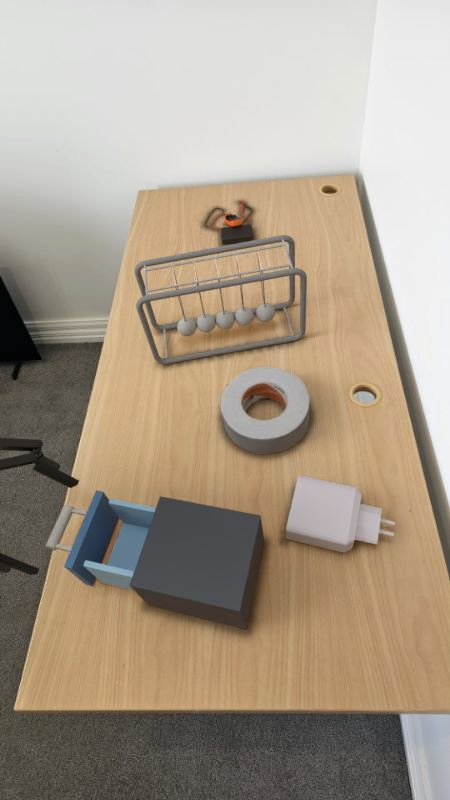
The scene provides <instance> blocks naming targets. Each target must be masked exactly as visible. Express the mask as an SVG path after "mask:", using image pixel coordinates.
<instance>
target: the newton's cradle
mask: <svg viewBox="0 0 450 800" xmlns="http://www.w3.org/2000/svg"><path fill="white" fill-rule="evenodd" d="M277 243H281V244H277ZM286 243H287V244H288V248H287V245H286ZM272 244H275V245H272ZM267 245H268V246H267ZM269 245H270V246H269ZM261 246H264V247H261ZM255 247H256V248H255ZM257 247H259V248H257ZM281 247H283V248H284V252H285V255H286V258H287V260H288V263H287V264H281V265H276V266H271V267H265V268H263V267H262V262H261V259H260V256H259V252H260V251H265V250H271V249H276V248H281ZM251 248H254V249H251ZM244 249H248V250H244ZM240 250H243V251H240ZM235 251H237V252H235ZM229 252H232V253H229ZM255 252H256V256H257V263H258V269H254V270H248V271H243V272H241V269H240V264H239V261H238V255H244V254H249V253H255ZM223 253H226V254H223ZM218 254H222V255H218ZM213 255H215V256H213ZM206 256H209V257H206ZM232 256H235V260H236V261H235V262H236V269H237V273H233V274H227V275H221V276H219V271H218V265H217V259H221V258H227V257H232ZM201 257H202V258H201ZM203 257H205V258H203ZM196 258H199V259H196ZM191 259H194V260H191ZM187 260H189V261H187ZM211 260H214V264H215V265H214V266H215V271H216V277H210V278H205V279H198V274H197V270H196V264H195V263H200V262H205V261H211ZM180 261H182V262H180ZM176 262H177V263H176ZM170 263H171V264H170ZM172 263H173V264H172ZM163 264H167V265H163ZM189 264H193V269H194V274H195V280H193V281H188V282H184V283H178V280H177V275H176V272H175V267H178V266H183V265H189ZM159 265H161V266H159ZM152 266H156V267H152ZM147 267H150V268H147ZM168 268H172V273H173V276H174V277H173V281H174V284H172V285H167V286H161V287H156V288H151V289H149V288H148V272H152V271H157V270H161V269H168ZM281 268H287V269H282V270H277V269H281ZM142 270H143V273H144V278H143V275H142V272H141V271H142ZM270 270H271V272H266V271H270ZM272 270H276V271H272ZM133 271H134V276H135V279H136V282H137V285H138V288H139V291H140V294H141V297H139V298H138V299H137V301H136V304H135V308H136V311H137V315H138V317H139V320H140V324H141V325H142V329H143V331H144V334H145V337H146V340H147V342H148V346H149V348H150V351H151V355H152V357H153V359H154V361H155V362H157V363H158V364H161V365H170V364H175V363H180V362H181V363H182V362H186V361H192V360H198V359H203V358H209V357H214V356H220V355H224V354H230V353H231V354H232V353H236V352H242V351H246V350H252V349H257V348H263V347H264V348H265V347H268V346H275V345H280V344H285V343H290V342H296V341H298V340H301V339H302V338H303V337H304V336H305V334H306V330H307V294H308V293H307V289H308V288H307V287H308V277H307V273H306V271H305V270H303V269H302V268H299V267H296V242H295V240H294V238H292V236H290V235H286V234H281V235H276V236H271V237H265V238H259V239H255V240H254V239H253V240H252V241H247V242H238V243H231V244H225V245H221V246H216V247H211V248H206V249H201V250H195V251H189V252H183V253H177V254H173V255H168V256H162V257H157V258H152V259H151V258H150V259H145V260H142V261H140V262H138V263H137V264H136V265H135V267H134V270H133ZM265 272H266V273H265ZM254 273H259V274H255V275H250V276H249V274H254ZM244 275H248V276H244ZM242 276H243V277H242ZM296 276H299V331H298V332H297V333H295V334H294V331H293V327H292V323H291V321H290V318H289V314H288V311H287V308H289V307H291V306H292V305H293V304H294V303H295V299H296ZM232 277H236V278H233V279H229V278H232ZM237 277H238V278H237ZM285 277H288V281H289V282H288V283H289V288H288V290H289V291H288V292H289V294H288V295H289V299H288V300H287V301H285V302H282V303H277V304H271V303H268V302H266V296H265V283H264V282H265V281H269V280H273V279H274V280H275V279H280V278H285ZM222 279H227V280H222ZM220 280H221V281H220ZM211 281H216V282H211ZM207 282H210V283H207ZM259 282H260V286H261V293H262V301H263V303H260V304H259V305H257V307H254V308H250V307H248V306H245V305H244V294H243V285H247V284H252V283H259ZM201 283H205V284H201ZM195 284H196V285H195ZM190 285H195V286H190ZM184 286H188V287H184ZM236 286H239V291H240V298H241V305H242V306H241V307H238V309H237V310H236V311H233V312H231V311H229V310H226V309H225V307H224V302H223V301H224V300H223V295H222V289H225V288H230V287H236ZM179 287H183V288H179ZM173 288H174V289H173ZM168 289H173V290H168ZM162 290H168V291H162ZM214 290H219V295H220V299H221V300H220V301H221V305H222V306H221V307H222V310H221V311H219V312H218V313H217V314H216V315H211V314H209V313H205V309H204V304H203V299H202V294H201V293H204V292H209V291H214ZM157 291H161V292H157ZM151 292H157V293H151ZM149 293H151V294H149ZM192 294H198V295H199V300H200V304H201V308H202V314H201V315H199V316H198V317H197V318H194V319H193V318H191V317H186V315H185V311H184V306H183V302H182V298H181V297H183V296H187V295H192ZM176 297H177V299H178V302H179V306H180V309H181V313H182V316H183V317H182V318H181V319H180V320H179V321H178V322H177V321H176V322H172V323H168V324H160V323H158V321H157V319H156V316H155V313H154V309H153V307H152V303H151V302H154V301H159V300H166V299H171V298H176ZM144 307H145V309H146V312H145V310H144ZM278 310H283V311H284V314H285V317H286V321H287V324H288V328H289V330H290V334H291V335H287V336H281V337H277V338H270V339H266V340H261V341H260V340H259V341H255V342H249V343H244V344H238V345H233V346H227V347H222V348H216V349H210V350H205V351H200V352H199V351H198V352H194V353H188V354H183V355H178V356H172V357H169V353H168V341H167V331H168V330H174V329H177V331H178V333H179V334H180V335H181V336H182V337H192V336H193V335H194V334H195V333H196V331H197V329H198V331H199V332H201V333H203V334H210V333H211V332H213V330H214V329H215V328H216V326H217V327H218V328H219V329H221V330H224V331H226V330H230V329H231V328H232V327H233V326H234V324H235V322H236V323H237V324H238V325H239V326H242V327H247V326H249V325H251V324H252V322H253V321H254V317H255V316H256V318H257V319H258V320H259V321H260V322H262V323H268V322H271V321H272V320H273V319H274V317H275V316H276V311H278ZM146 313H147V315H148V318H149V321H150V324H151V326H152V327H153V328H154V329H155V330H157V331H162V332H163V336H164V337H163V338H164V350H165V358H163V357H161V356H160V354H159V351H158V348H157V344H156V342H155V339H154V337H153V336H154V335H153V333H152V331H151V327H150V325H149V322H148V318H147V315H146Z"/></svg>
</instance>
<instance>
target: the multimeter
mask: <svg viewBox="0 0 450 800" xmlns="http://www.w3.org/2000/svg"><path fill="white" fill-rule="evenodd" d="M237 201H238V202H239V203H241V212H243V211H244V207H246V208H247V209H248V210H250V213H249V215H251V214H252V213H253V212H252V209H251V207H250V206H248V205H246V204H245V203H244V198H243V197H242V198H241V201H240V200H239V199H238V200H237ZM217 209H219V210H221V211H222V213H220V214H219V215H217V216H216V217H215V218H214V220H213V221H212V223H211V224H210V225H209V226H208V225H207V221H208V220H209V218H210V216H211V215H212V214H213V212H214V211H215V210H217ZM221 215H222V216H224V223H225V224H226V225H228V226H223V227H220V228H217V227H215V226H212V225H214V222H216V220H217V218H218V217H219V216H221ZM242 216H243V217H245V219H244V220H243V218H241V217H239V216H238V215H236V214H234V213H233V214H232V213H231V212H230V211H227V212H224V209H223V208H220V207H216V208H214V209H213V210H212V211H211V212H210V214H209V215H208V217H207V218H206V221H205V223H204V224H205V225H204V226H205V227H207V228H213V229H216V230H218V231H220V235H221V243H222V245H231V244H237V243H243V242H248V241H253V240H254V234H253V233H254V232H253V226H252V224H251V223H250V222H251V219H250V218H249V216H246V215H244V214H242ZM246 220H249V222H248V223H247V224H243V223H244V222H246Z"/></svg>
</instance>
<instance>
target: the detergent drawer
mask: <svg viewBox="0 0 450 800" xmlns="http://www.w3.org/2000/svg"><path fill="white" fill-rule="evenodd" d="M155 509H156V506H152V505H147V504H141V503H136V502H132V501H131V502H130V501H128V500H127V501H126V500H121V499H118V498H117V499H116V498H112V497H111V498H109V496H107V495H106V493H105V492H104V491H102V490H98V489H97V490H95V492H94V494H93V497H92V499H91V502H90V503H89V506H88V509H87V510H84V509H79V508H75V507H74V506H72V505H71V504H68V503H67V504H66V503H65V504H63V507H62V509H61V511H60V513H59V515H58V518H57V520H56V522H55V523H54V524H55V525H54V526H53V528H52V531H51V533H50V535H49V537H48V540H47V542H46V544H45V548H47V549H49V550H50V551H57V550H61V551H65V552H69V554H68V556H67V558H66V561H65V563H64V565H63V567H64V568H65V569H66V570H67V571H69V572H70V573H71V574H72V575H74V576H75V577H76V578H77V579H78V580H80V581H81V582H82V583H83V584H85V585H86V586H90V587H94V585H95V583H96V580H98V581H99V582H100V583H101V584H104V585H109V586H113V587H117V588H121V589H125V590H129V591H133V592H135V591H134V590H133V589H132V588H131V587H130V582H131V579H132V576H133V574H134V571H135V568H136V565H137V562H138V559H139V556H140V553H141V550H142V547H143V544H144V541H145V539H146V536H147V533H148V530H149V527H150V524H151V521H152V518H153V515H154V512H155ZM73 514H76V515H80V516H84V518H83V521H82V523H81V525H80V527H79V530H78V532H77V534H76V536H75V539H74V541H73V544H72V546H70V545H65V544H62V543H61V540H62V538H63V536H64V533H65V531H66V529H67V526H68V525H69V522H70V520H71V517H72V516H73ZM119 520H120V521H121V522H122V524H121V526H120V528H119V532H118V534H117V537H116V540H115V543H114V545H113V547H112V549H111V553H110V556H109V559H108V561H107V564H104V563H103V562H104V560H105V557H106V554H107V551H108V549H109V546H110V544H111V541H112V538H113V535H114V533H115V530H116V527H117V525H118V523H119Z"/></svg>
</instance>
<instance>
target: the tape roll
mask: <svg viewBox="0 0 450 800" xmlns="http://www.w3.org/2000/svg"><path fill="white" fill-rule="evenodd" d="M262 400H271V401H275V402H278V403H279V404H281V405H282V406H283V408H284V410H283V411H282V412H281V413H280V414H278V415H277V416H275V417H273V418H269V419H258V418H255V417H252V416H250V414H248V413H247V410H248V409H249V408H250V407H251V406H252V405H253V404H254V403H255V404H256V403H257V402H259V401H262ZM219 405H220V406H219V408H220V413H221V417H222V422H223V423H222V424H223V427H224V430H225V433H226V434H227V436H228V438H229V439H230V440H231V442H233V444H235V445H236V446H237V447H239V448H240V449H242V450H244V451H247V452H249V453H253V454H257V455H271V454H277V453H281V452H284V451H287V450H288V449H290V448H293V446H295V445H296V444H298V443H299V442H300V441H301V439H302V438H303V437H304V435H306V432H307V431H308V428H309V426H310V418H311V400H310V393H309V390H308V388H307V386H306V385H305V383H304V382H303V380H302V379H301V378H299V377H297V375H295V374H294V373H292V372H291V371H287V370H285V369H283V368H281V367H276V366H275V367H274V366H258V367H253V368H250V369H246V370H244V371H242V372H241V373H239V374H237V375H236V376H235V377H234V378H233V379H232V380H231V381H230V382H229V383H228V384H227V385H225V388H224V389H223V391H222V394H221V396H220V404H219Z"/></svg>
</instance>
